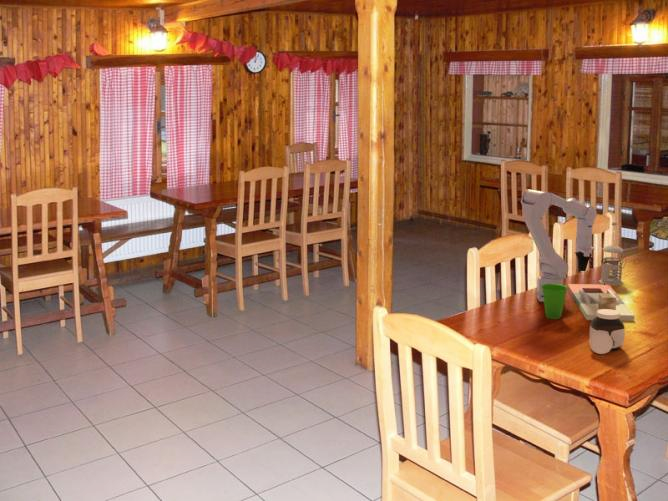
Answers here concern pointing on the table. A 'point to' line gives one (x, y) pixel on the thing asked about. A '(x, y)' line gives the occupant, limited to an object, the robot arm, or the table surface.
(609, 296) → the maple block
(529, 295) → the table surface
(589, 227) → the robot arm
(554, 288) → the cup
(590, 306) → the chute board
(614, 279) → the french press
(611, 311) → the spread jar
